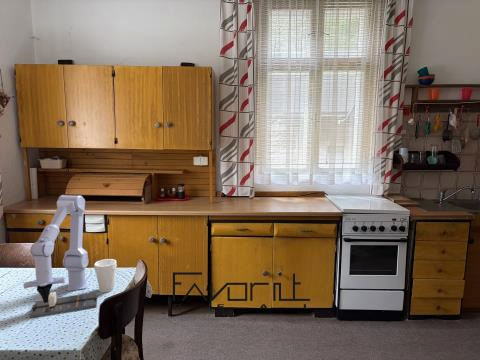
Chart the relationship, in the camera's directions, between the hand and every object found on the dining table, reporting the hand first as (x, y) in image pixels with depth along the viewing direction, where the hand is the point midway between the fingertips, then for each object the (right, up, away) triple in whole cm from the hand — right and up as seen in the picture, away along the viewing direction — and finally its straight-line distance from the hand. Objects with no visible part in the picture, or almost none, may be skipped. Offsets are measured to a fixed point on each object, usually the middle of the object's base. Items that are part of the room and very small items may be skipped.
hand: (46, 301), depth 139 cm
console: (+7, -3, +3) cm, 8 cm away
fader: (+2, -1, +1) cm, 3 cm away
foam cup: (+18, -1, +18) cm, 25 cm away
